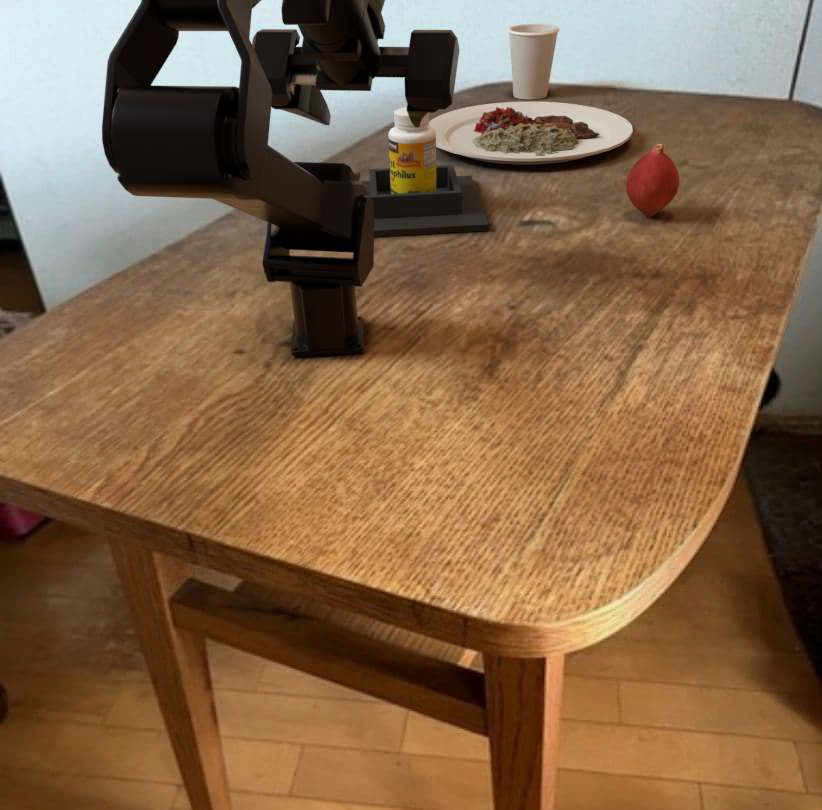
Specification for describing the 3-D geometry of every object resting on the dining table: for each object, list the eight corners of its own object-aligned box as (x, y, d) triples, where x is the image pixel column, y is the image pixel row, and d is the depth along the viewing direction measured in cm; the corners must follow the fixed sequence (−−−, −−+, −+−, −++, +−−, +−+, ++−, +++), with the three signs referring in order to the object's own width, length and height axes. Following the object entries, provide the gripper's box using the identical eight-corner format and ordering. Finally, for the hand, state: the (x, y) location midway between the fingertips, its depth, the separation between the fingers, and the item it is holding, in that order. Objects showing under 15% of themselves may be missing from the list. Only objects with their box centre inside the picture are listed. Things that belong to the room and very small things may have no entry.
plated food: (566, 187, 109) (568, 159, 107) (382, 151, 123) (381, 126, 121) (665, 130, 127) (669, 105, 125) (495, 105, 141) (496, 83, 139)
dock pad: (488, 231, 98) (489, 201, 96) (349, 238, 98) (347, 209, 96) (471, 181, 112) (471, 154, 110) (349, 187, 112) (347, 161, 109)
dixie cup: (530, 87, 151) (533, 21, 144) (565, 95, 145) (570, 27, 139) (495, 95, 147) (497, 28, 140) (529, 104, 142) (533, 35, 135)
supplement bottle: (381, 203, 104) (376, 112, 98) (411, 191, 107) (408, 102, 101) (416, 212, 101) (413, 119, 95) (446, 200, 104) (445, 108, 98)
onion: (616, 220, 99) (625, 147, 94) (630, 205, 103) (639, 134, 98) (666, 227, 97) (677, 153, 92) (679, 211, 101) (691, 139, 96)
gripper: (455, -84, 68) (475, 45, 84) (237, -79, 72) (295, 44, 87) (437, 48, 68) (461, 154, 83) (217, 46, 71) (279, 148, 86)
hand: (372, 121), depth 85 cm, fingers open, 9 cm apart
